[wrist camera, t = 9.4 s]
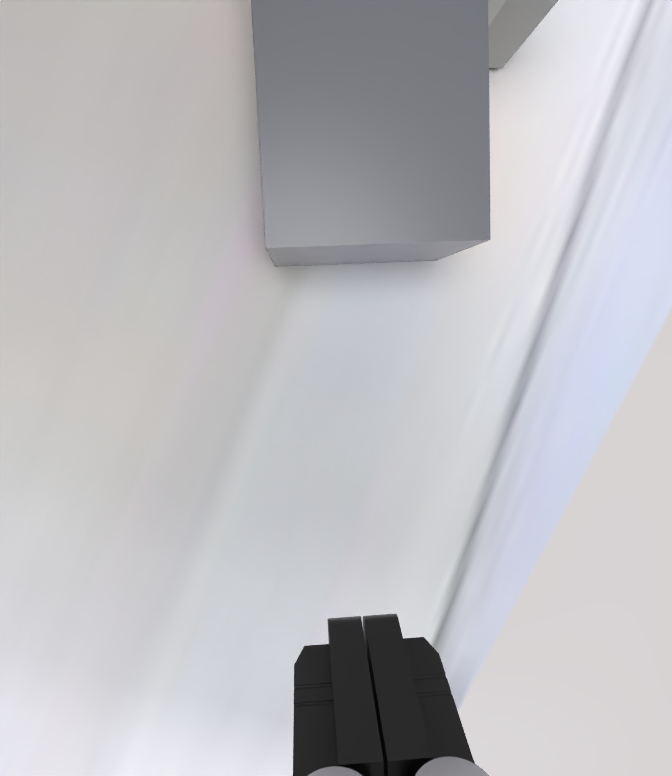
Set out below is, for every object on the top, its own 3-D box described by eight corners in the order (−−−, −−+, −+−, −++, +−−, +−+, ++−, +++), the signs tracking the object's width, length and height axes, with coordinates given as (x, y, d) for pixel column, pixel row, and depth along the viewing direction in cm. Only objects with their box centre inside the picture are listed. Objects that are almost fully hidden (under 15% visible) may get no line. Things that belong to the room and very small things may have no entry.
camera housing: (439, 260, 35) (501, 236, 24) (275, 266, 34) (264, 245, 24) (430, -149, 32) (498, -386, 21) (252, -149, 32) (227, -391, 21)
